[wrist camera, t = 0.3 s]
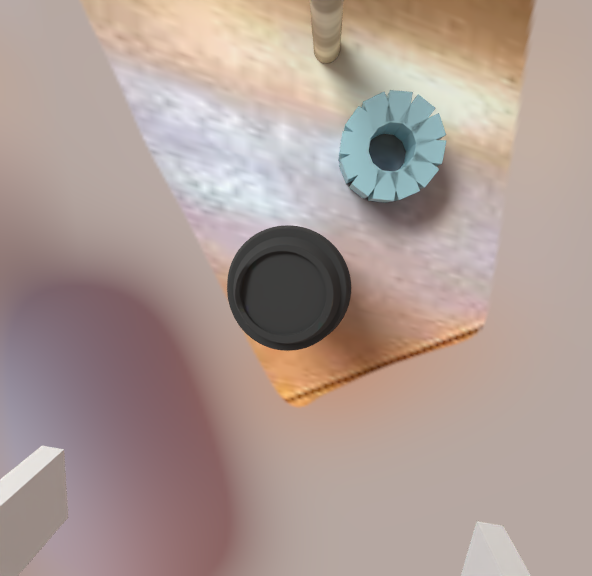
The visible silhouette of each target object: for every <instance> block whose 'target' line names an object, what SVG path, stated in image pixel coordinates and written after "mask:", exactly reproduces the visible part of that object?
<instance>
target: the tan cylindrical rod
mask: <svg viewBox="0 0 592 576" xmlns="http://www.w3.org/2000/svg"><path fill="white" fill-rule="evenodd" d="M343 1H344V0H310V10H311V22H312V33H313V45H314V54H315V56H316V58H317V59H318V60H319V61H320V62H322V63H331V62H333V61H334V60H335V59H336V58H337V57H338V55H339V52H340V43H341V29H342V15H343Z"/></svg>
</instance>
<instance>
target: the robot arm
mask: <svg viewBox="0 0 592 576" xmlns="http://www.w3.org/2000/svg"><path fill="white" fill-rule="evenodd" d="M67 518H68V507H67V491H66V475H65V459H64V450H63V449H58V448H51V447H46V446H41V447H40V448H39V449H37V450H36V451H35V452H34V453H32V454H31V455H30V456H29V457H28V458H26V459H25V460H24V461H23V462H21V463H20V464H19V465H18V466H17V467H15V468H14V469H13V470H12V471H10V472H9V473H8V474H7V475H5V476H4V477H3V478H2V479H1V480H0V576H18V575H19V574H20V573H21V572H22V571H23V570H24V568H25V567H26V566H27V565H28V564H29V562H30V561H31V560H32V559H33V558H34V557H35V556H36V554H37V553H38V552H39V551H40V550H41V549H42V547H43V546H44V545H45V544H46V543H47V541H48V540H49V539H50V538H51V537H52V536H53V535H54V534H55V532H56V531H57V530H58V529H59V527H60V526H61V525H62V524H63V523H64V522H65V521H66V519H67ZM461 576H531V575H530V573H529V571H528V569H527V568H526V566H525V564H524V562H523V561H522V559H521V557H520V555H519V553H518V551H517V550H516V548H515V546H514V545H513V543H512V541H511V539H510V537H509V535H508V534H507V532H506V530H505V529H504V527H503V526H501V525H496V524H490V523H484V522H478V521H477V522H476V525H475V529H474V532H473V536H472V539H471V542H470V546H469V549H468V552H467V556H466V559H465V563H464V566H463V569H462V573H461Z"/></svg>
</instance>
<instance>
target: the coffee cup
mask: <svg viewBox="0 0 592 576" xmlns="http://www.w3.org/2000/svg"><path fill="white" fill-rule="evenodd" d="M227 292H228V300H229V305H230V308H231V311H232V313H233V315H234V317H235V319H236V321H237V323H238V324H239V326H240V327H241V328H242V329H243V330H244V332H245V333H246V334H247V335H249V336H250V337H251V338H252V339H254V340H255V341H257V342H258V343H260V344H262V345H264V346H267V347H269V348H273V349H277V350H298V349H303V348H306V347H309V346H311V345H314V344H315V343H317V342H319V341H320V340H322V339H323V338H325V337H326V336H327V335H328V334H330V333H331V332H332V331H333V330H334V329H335V328H336V327H337V326H338V324H339V323H340V322H341V320H342V319H343V317H344V315H345V313H346V311H347V308H348V305H349V301H350V296H351V280H350V274H349V271H348V268H347V265H346V263H345V261H344V259H343V257H342V255H341V254H340V252H339V251H338V250H337V248H336V247H335V246H334V245H333V244H332V243H331V242H330V241H329V240H327V239H326V238H325V237H323V236H322V235H320V234H318V233H316V232H314V231H312V230H310V229H307V228H303V227H298V226H277V227H272V228H269V229H266V230H264V231H261V232H259V233H257V234H256V235H254V236H253V237H251V238H250V239H249V240H248V241H246V242H245V243H244V244H243V246H242V247H241V248H240V249H239V250H238V252H237V253H236V255H235V257H234V259H233V261H232V263H231V266H230V269H229V274H228V284H227Z"/></svg>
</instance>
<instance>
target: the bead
mask: <svg viewBox="0 0 592 576" xmlns="http://www.w3.org/2000/svg"><path fill="white" fill-rule="evenodd" d="M412 94H413V92H405V91H394V90H390V92H389V94H388V96H387V97H386V94H385V92H382V93H380V94H378V95H376V96H374V97H372V98H370V99H368V100H366V101H364V102H363V105H362V108H361V107H360V106H358V108H357V109H356V110H355V112H354V113H353V115H352V116H351V117H350V119H349V120H348V122H347V123H346V125H345V128H344V131H343V133H342V139H341V146H340V153H339V161H340V164H339V167H340V170H341V172H342V175H343V177H344V180H345V182H346V184H347V183H349V182H351V181H353V180H354V181H353V183H352V184H351V185H350V187H349V188H350V189H351V190H353V191H354V192H355V193H357V194H358V195H359V196H360V197H362V198H363V199H364V198H366V197H368V196H369V197H368V201H376V202H385V203H387V202H393V201H397V200H400V199H403V198H405V197H407V196H410V195H412V194H414V193H417V192H419V191H420V190H419V189H421V188H425V186H426V185H427V184H428V183H429V181H430V180H431V179H432V178H433V177H434V175H435V174H436V173H437V172H438V170H439V169H438V168H437V167H436V166H438V165H440V164H442V161H443V156H444V151H445V146H446V141H444V140H439V139H441V138H442V137H444V136H445V135H446V133H445V130H444V127H443V124H442V121H441V118H440V115H439V113H438V114H436V115H434V116H432V117H429V116H430V115H431V114H432V112H433V111H434V110H435V107H433V106H432V105H431V104H430V103H428V102H427V101H426V100H425V99H423V98H422V97H421V96H420V95H417V97H416V98H415V99H414V101H413V102H412V103H411V100H412ZM428 117H429V118H428ZM381 134H392V135H395V136H396V137H397V138H398V139H400V140H401V141H402V143H403V145H404V148H405V151H406V154H405V159H404V164H403V165H402V166H401V168H400V169H399V170H397V171H384V170H381V169H380V168H379V167H377V166H376V165H375V164H374V163H373V162H372V159H371V157H370V154H369V145H370V141H371V140H372V138H374V137H377V136H379V135H381Z"/></svg>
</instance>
